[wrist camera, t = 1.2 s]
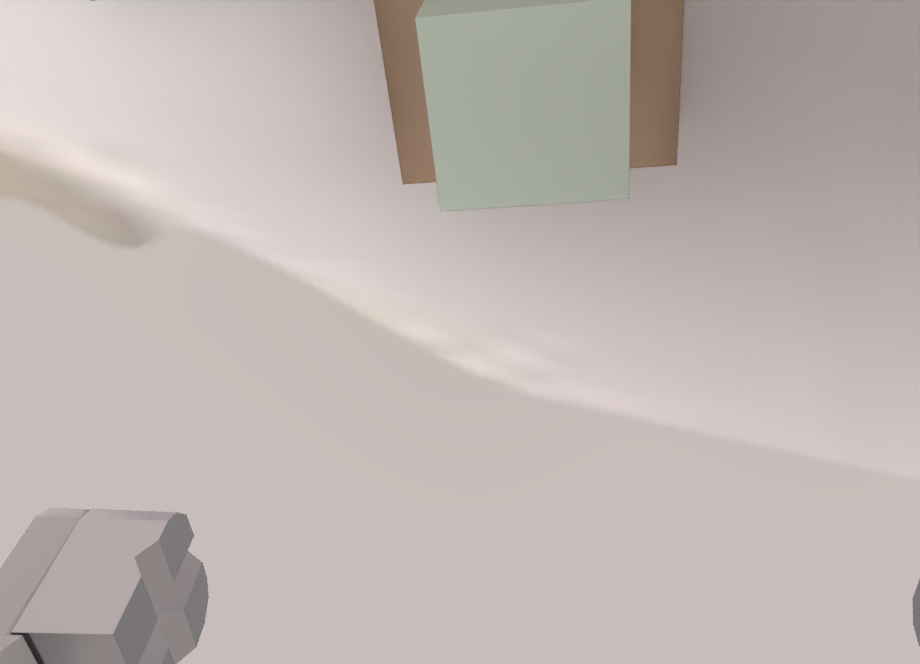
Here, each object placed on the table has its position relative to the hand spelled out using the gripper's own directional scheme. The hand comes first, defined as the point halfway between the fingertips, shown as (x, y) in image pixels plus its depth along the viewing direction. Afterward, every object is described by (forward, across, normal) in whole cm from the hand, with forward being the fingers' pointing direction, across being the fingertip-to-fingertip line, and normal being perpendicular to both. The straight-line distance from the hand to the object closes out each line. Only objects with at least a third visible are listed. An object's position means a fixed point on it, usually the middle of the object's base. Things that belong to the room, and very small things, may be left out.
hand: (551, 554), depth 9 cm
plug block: (+22, 0, -1) cm, 22 cm away
